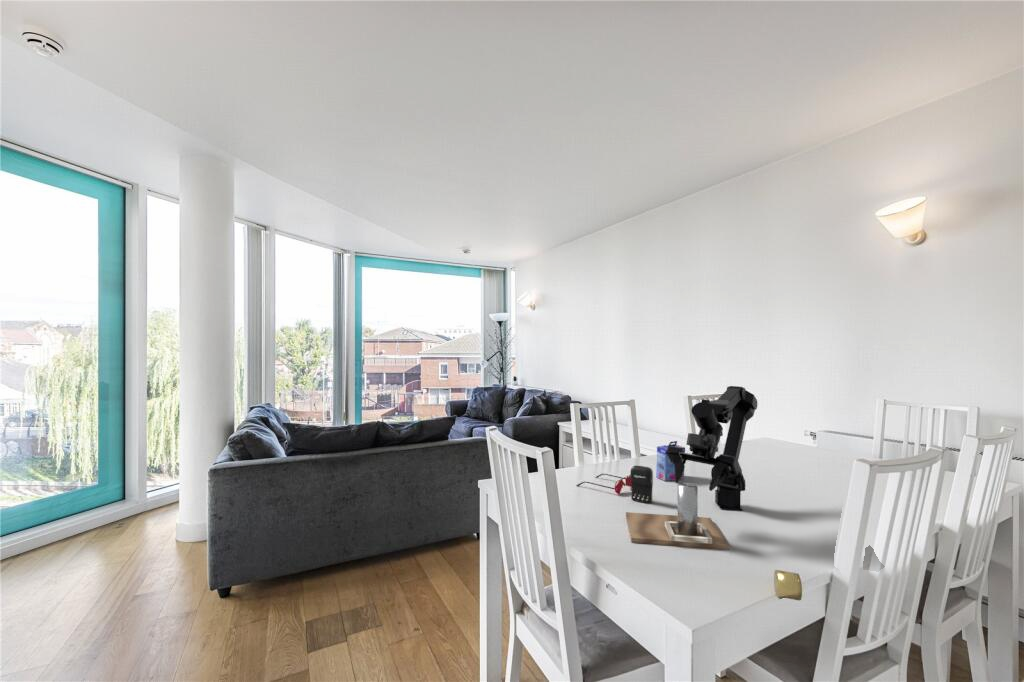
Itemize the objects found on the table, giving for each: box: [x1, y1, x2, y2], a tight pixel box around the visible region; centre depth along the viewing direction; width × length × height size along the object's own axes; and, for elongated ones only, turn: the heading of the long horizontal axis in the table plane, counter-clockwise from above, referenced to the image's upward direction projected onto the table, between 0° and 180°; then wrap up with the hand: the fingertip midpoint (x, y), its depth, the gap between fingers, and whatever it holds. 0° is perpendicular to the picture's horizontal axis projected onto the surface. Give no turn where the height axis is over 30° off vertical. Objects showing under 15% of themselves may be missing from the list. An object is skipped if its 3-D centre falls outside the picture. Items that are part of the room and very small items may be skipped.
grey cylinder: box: [677, 482, 699, 536], centre depth 123 cm, size 5×5×13 cm
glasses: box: [575, 473, 632, 495], centre depth 166 cm, size 14×16×5 cm
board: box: [625, 512, 730, 551], centre depth 127 cm, size 24×18×2 cm
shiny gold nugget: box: [773, 569, 803, 601], centre depth 95 cm, size 5×5×4 cm
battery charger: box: [629, 464, 654, 504], centre depth 151 cm, size 7×4×11 cm, turn 56°
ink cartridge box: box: [655, 440, 686, 482], centre depth 176 cm, size 10×6×14 cm, turn 115°
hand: (692, 486), depth 125 cm, fingers open, 9 cm apart
